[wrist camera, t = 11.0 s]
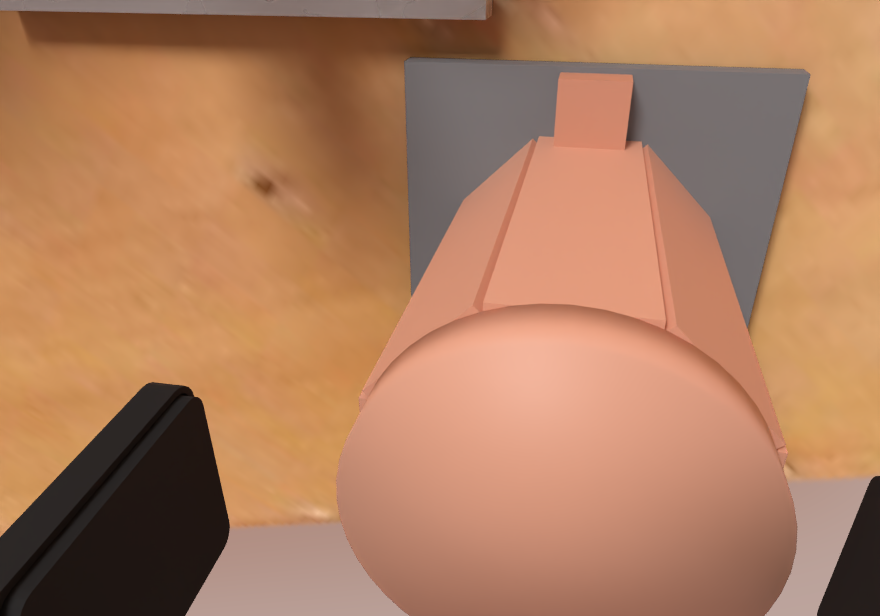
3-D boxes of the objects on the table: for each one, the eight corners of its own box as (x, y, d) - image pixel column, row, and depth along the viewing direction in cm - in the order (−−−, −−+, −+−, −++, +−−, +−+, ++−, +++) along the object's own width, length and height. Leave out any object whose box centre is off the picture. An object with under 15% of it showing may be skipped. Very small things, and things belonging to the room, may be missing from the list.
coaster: (418, 361, 21) (413, 372, 21) (410, 57, 17) (404, 61, 16) (724, 397, 20) (727, 410, 19) (803, 69, 15) (810, 74, 15)
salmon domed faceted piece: (457, 68, 16) (305, 215, 8) (745, 78, 15) (901, 261, 7) (456, 386, 21) (356, 683, 13) (677, 413, 20) (723, 761, 11)
